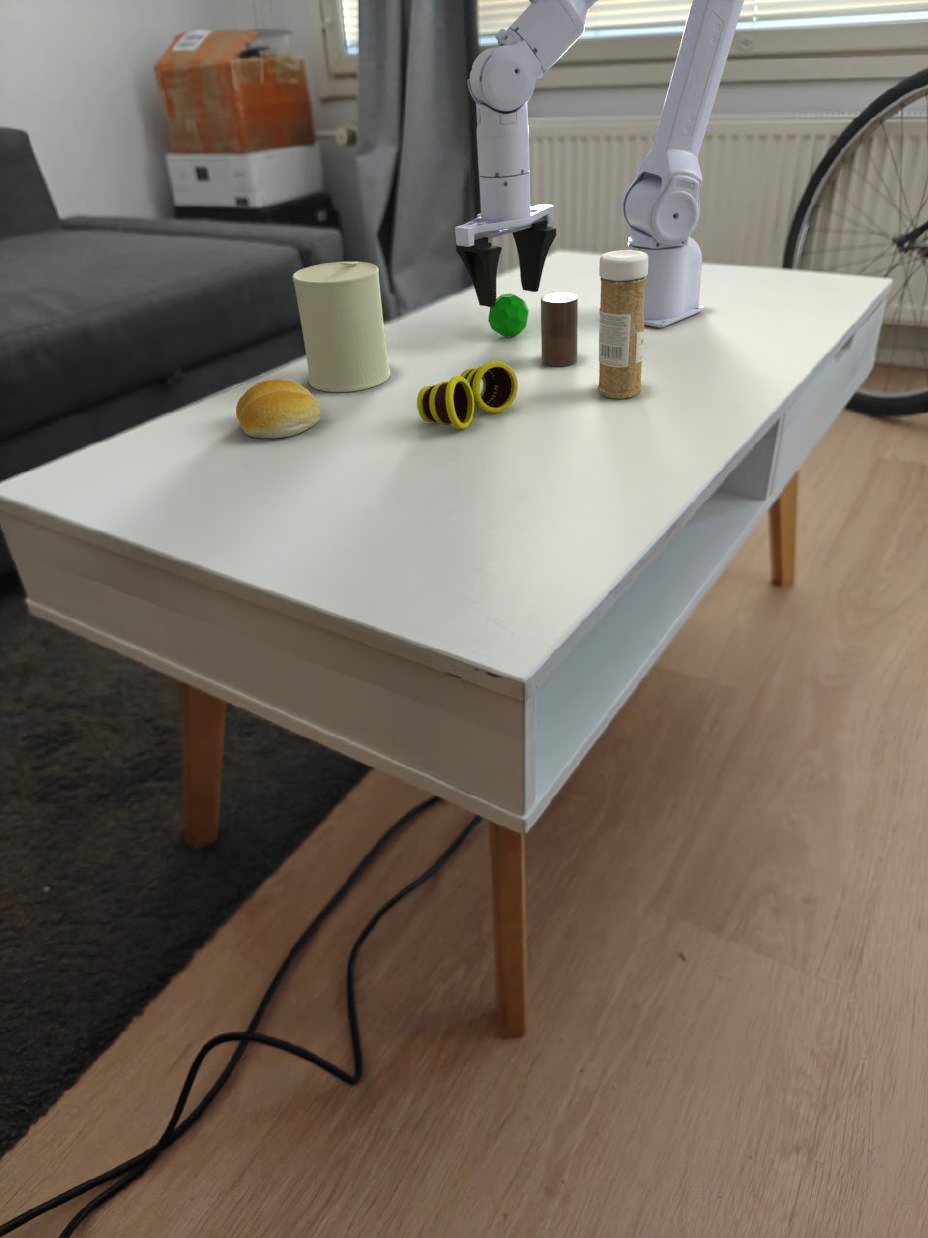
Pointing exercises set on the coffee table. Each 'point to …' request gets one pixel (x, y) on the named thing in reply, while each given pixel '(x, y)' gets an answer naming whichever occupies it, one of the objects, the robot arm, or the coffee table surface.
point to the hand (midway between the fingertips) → (509, 297)
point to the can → (342, 325)
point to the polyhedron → (508, 315)
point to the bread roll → (277, 409)
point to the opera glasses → (468, 395)
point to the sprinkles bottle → (621, 322)
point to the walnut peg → (559, 329)
